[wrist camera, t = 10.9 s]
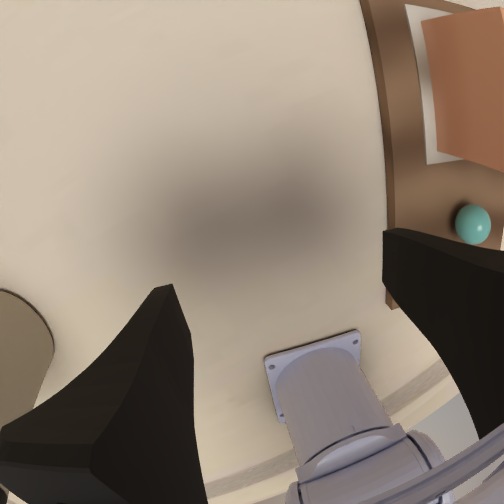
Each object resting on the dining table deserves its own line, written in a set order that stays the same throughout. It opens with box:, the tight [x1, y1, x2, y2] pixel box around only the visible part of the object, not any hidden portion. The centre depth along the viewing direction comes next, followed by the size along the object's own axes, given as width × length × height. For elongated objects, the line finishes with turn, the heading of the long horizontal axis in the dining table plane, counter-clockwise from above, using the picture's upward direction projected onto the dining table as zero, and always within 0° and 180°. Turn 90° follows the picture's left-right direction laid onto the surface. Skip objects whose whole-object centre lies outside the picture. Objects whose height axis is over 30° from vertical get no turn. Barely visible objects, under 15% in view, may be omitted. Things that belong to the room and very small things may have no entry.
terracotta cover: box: [421, 7, 504, 172], centre depth 13 cm, size 9×6×7 cm, turn 11°
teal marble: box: [455, 204, 491, 245], centre depth 20 cm, size 3×3×3 cm
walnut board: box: [360, 0, 504, 310], centre depth 19 cm, size 23×13×1 cm, turn 11°
